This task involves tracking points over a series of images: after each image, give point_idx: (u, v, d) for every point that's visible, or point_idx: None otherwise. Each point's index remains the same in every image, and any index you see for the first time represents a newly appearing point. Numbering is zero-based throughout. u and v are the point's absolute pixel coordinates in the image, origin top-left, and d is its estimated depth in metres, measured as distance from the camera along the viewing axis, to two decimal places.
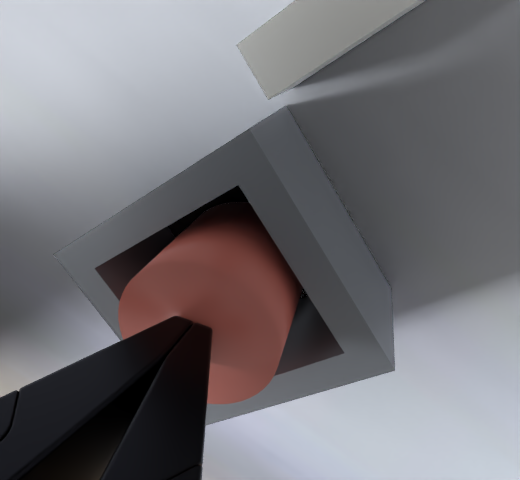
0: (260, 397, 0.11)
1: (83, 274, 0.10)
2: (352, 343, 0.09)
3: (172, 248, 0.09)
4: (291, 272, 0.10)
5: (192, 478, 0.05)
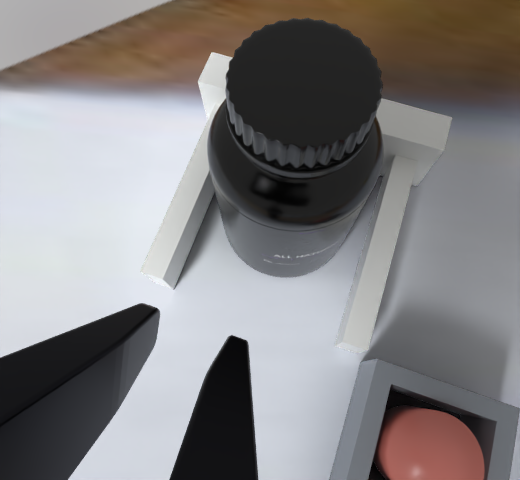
0: None
1: None
2: (493, 412, 0.17)
3: (388, 433, 0.17)
4: None
5: None
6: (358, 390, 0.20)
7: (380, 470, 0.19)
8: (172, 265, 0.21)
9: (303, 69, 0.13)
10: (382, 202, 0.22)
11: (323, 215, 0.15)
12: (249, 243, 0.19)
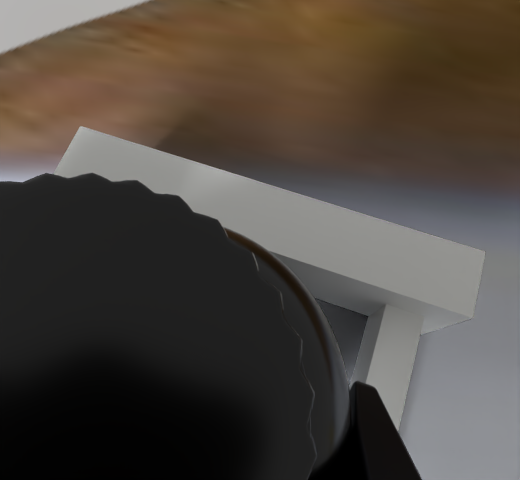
0: None
1: None
2: None
3: None
4: None
5: None
6: None
7: None
8: None
9: (32, 386, 0.04)
10: None
11: None
12: None
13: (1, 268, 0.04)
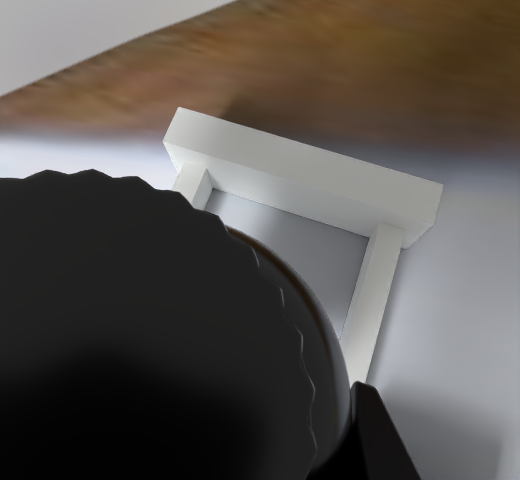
0: None
1: None
2: None
3: None
4: None
5: None
6: None
7: None
8: None
9: (33, 381, 0.04)
10: (365, 277, 0.19)
11: None
12: None
13: (2, 264, 0.04)
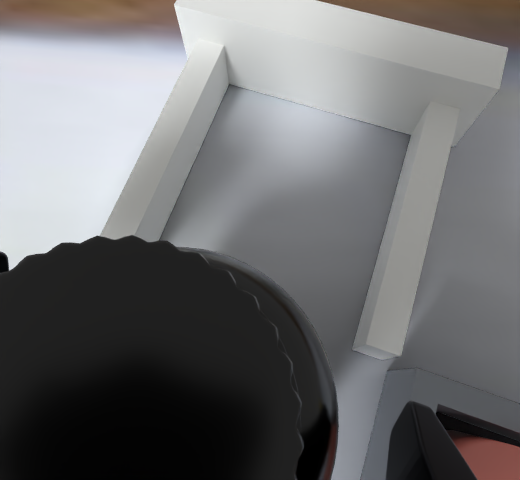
0: None
1: None
2: None
3: None
4: None
5: None
6: (387, 410, 0.15)
7: None
8: None
9: (96, 399, 0.05)
10: (415, 160, 0.16)
11: None
12: None
13: (68, 310, 0.05)
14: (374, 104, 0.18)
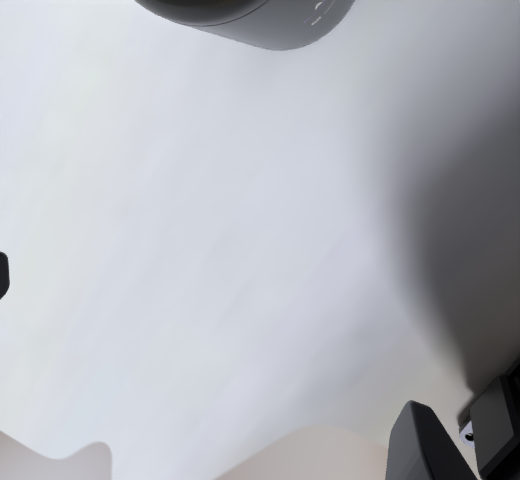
0: None
1: None
2: None
3: None
4: None
5: None
6: None
7: None
8: None
9: None
10: None
11: None
12: (282, 30, 0.14)
13: None
14: None
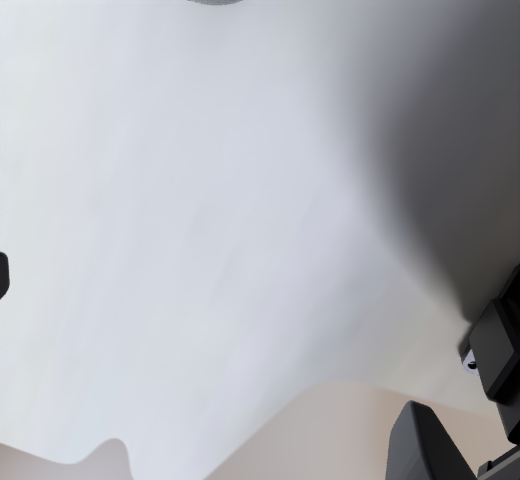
0: None
1: None
2: None
3: None
4: None
5: None
6: None
7: None
8: None
9: None
10: None
11: None
12: None
13: None
14: None
